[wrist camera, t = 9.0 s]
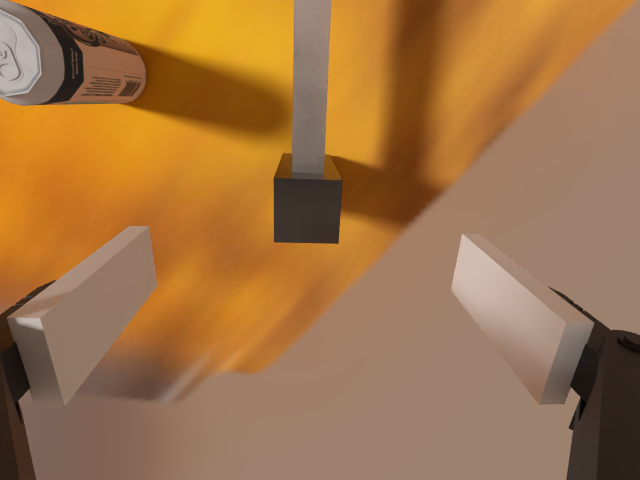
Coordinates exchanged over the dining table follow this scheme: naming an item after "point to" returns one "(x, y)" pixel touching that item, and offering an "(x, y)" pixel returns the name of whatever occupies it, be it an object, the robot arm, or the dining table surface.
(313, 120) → the shaft
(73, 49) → the beer can
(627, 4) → the dining table surface
